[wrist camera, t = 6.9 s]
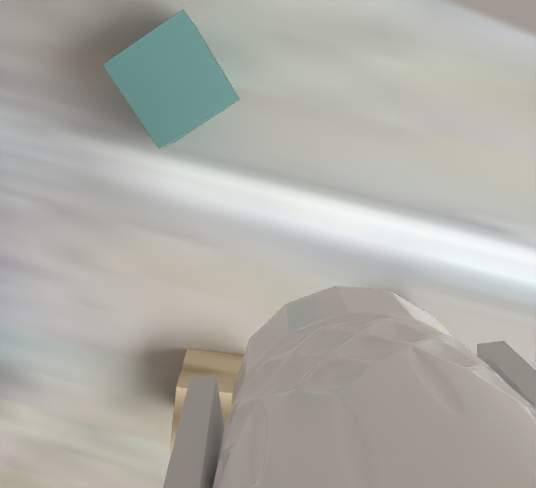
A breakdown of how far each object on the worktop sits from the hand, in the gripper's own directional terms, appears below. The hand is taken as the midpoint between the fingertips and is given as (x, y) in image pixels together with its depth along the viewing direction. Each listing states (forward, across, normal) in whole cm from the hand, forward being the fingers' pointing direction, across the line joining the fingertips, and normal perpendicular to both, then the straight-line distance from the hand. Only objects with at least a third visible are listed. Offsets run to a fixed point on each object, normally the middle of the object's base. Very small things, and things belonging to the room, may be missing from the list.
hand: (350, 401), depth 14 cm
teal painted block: (+19, +6, -10) cm, 23 cm away
